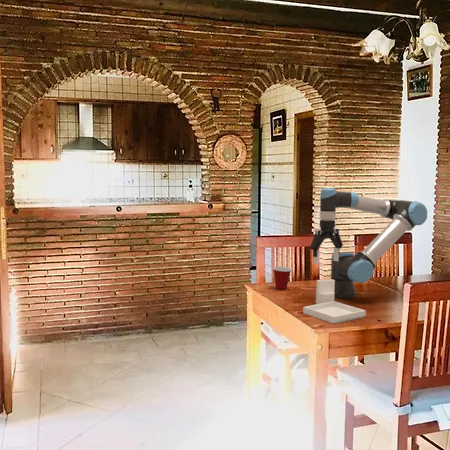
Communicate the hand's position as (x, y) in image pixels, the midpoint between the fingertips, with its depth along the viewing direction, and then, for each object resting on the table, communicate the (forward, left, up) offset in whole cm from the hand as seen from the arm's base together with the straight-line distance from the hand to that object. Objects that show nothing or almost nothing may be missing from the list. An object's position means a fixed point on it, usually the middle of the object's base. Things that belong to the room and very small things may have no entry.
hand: (326, 262), depth 261 cm
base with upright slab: (0, 0, -21) cm, 21 cm away
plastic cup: (-2, -36, -21) cm, 42 cm away
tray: (+11, +17, -21) cm, 29 cm away
